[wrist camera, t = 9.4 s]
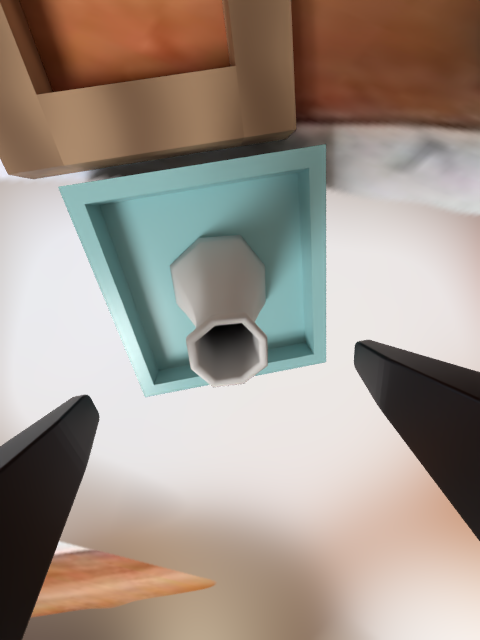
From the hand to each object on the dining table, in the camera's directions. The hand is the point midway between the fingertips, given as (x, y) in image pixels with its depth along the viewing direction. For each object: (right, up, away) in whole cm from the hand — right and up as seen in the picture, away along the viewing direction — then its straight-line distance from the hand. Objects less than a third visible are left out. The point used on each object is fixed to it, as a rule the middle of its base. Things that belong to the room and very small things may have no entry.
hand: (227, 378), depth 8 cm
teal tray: (-1, +5, +11) cm, 12 cm away
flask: (-1, +5, +10) cm, 12 cm away
